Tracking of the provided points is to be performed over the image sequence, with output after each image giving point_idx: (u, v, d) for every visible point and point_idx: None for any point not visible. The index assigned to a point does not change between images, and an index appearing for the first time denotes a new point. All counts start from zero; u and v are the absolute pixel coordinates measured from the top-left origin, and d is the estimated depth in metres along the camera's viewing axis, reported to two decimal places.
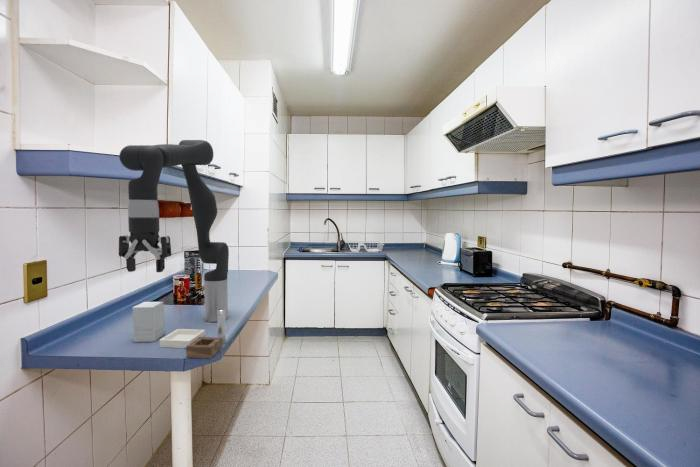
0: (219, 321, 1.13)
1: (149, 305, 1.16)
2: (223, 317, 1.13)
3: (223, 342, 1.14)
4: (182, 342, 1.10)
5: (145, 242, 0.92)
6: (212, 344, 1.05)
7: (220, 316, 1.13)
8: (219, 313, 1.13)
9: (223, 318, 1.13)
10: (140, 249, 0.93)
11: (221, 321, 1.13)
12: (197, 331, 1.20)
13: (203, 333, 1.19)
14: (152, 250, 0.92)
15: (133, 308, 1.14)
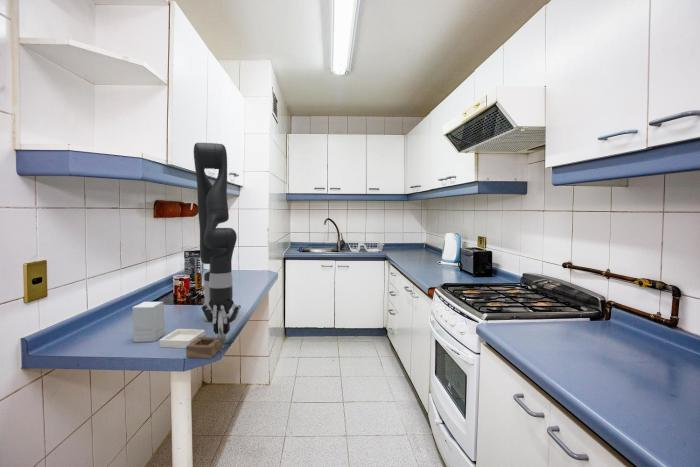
0: (219, 321, 1.13)
1: (149, 305, 1.16)
2: None
3: (223, 342, 1.14)
4: (182, 342, 1.10)
5: (222, 307, 1.12)
6: (212, 344, 1.05)
7: (220, 316, 1.13)
8: (219, 313, 1.13)
9: None
10: None
11: (221, 321, 1.13)
12: (197, 331, 1.20)
13: (203, 333, 1.19)
14: (224, 315, 1.12)
15: (133, 308, 1.14)
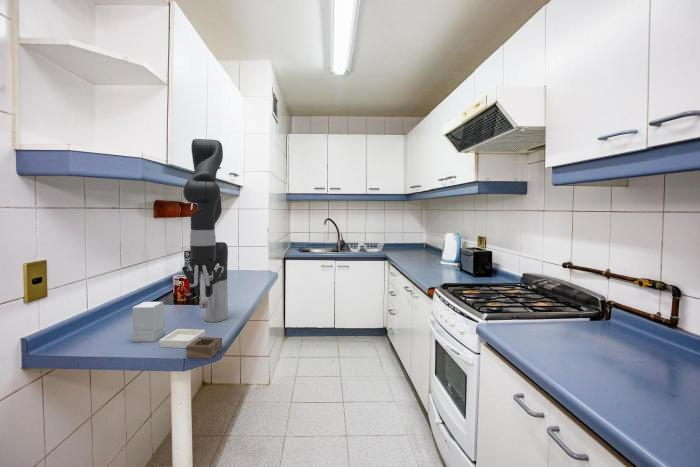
0: (201, 283, 1.04)
1: (149, 305, 1.16)
2: None
3: (205, 306, 1.05)
4: (182, 342, 1.10)
5: (204, 268, 1.03)
6: (212, 344, 1.05)
7: (202, 277, 1.04)
8: (201, 274, 1.04)
9: (205, 280, 1.04)
10: None
11: (203, 283, 1.04)
12: (197, 331, 1.20)
13: (203, 333, 1.19)
14: (206, 277, 1.03)
15: (133, 308, 1.14)
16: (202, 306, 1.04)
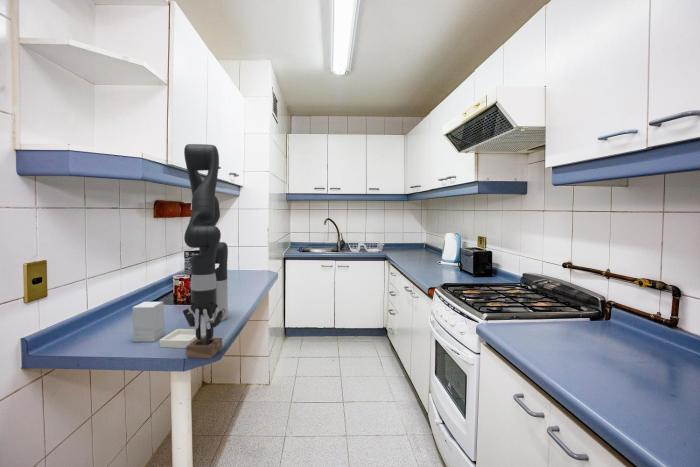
0: (202, 326, 1.05)
1: (149, 305, 1.16)
2: None
3: None
4: (182, 342, 1.10)
5: (205, 311, 1.04)
6: (212, 344, 1.05)
7: (203, 321, 1.05)
8: (201, 318, 1.05)
9: None
10: None
11: (204, 326, 1.05)
12: None
13: None
14: (207, 320, 1.04)
15: (133, 308, 1.14)
16: None
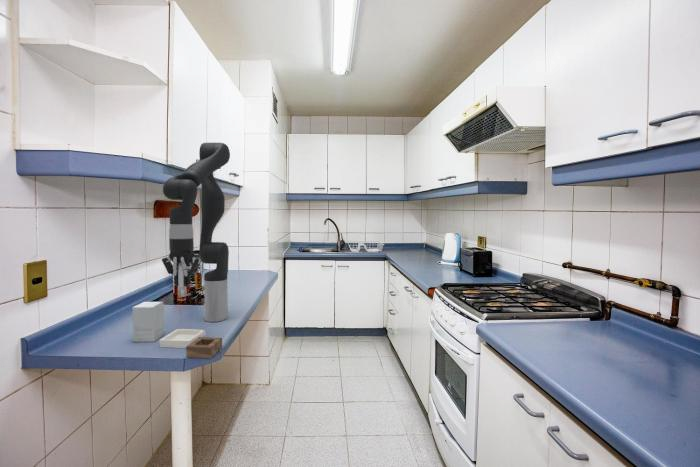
0: (179, 273, 1.12)
1: (149, 305, 1.16)
2: None
3: (183, 295, 1.13)
4: (182, 342, 1.10)
5: (182, 259, 1.11)
6: (212, 344, 1.05)
7: (180, 268, 1.12)
8: (179, 265, 1.12)
9: (183, 270, 1.13)
10: None
11: (181, 273, 1.12)
12: (197, 331, 1.20)
13: (203, 333, 1.19)
14: (184, 267, 1.12)
15: (133, 308, 1.14)
16: (180, 295, 1.13)
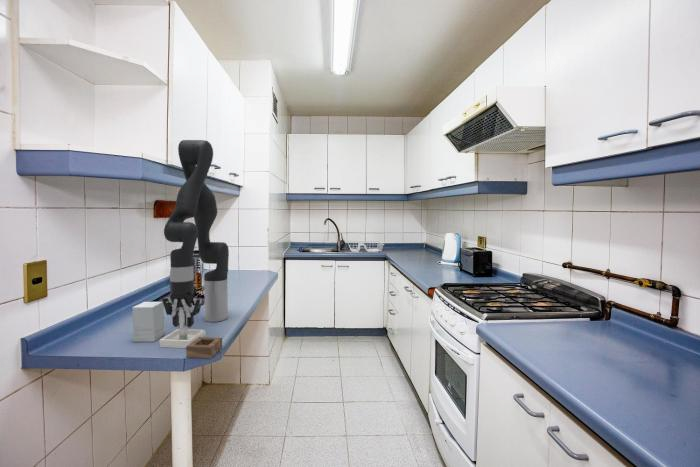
0: (180, 318, 1.13)
1: (149, 305, 1.16)
2: (184, 314, 1.14)
3: (184, 338, 1.14)
4: (182, 342, 1.10)
5: (183, 301, 1.12)
6: (212, 344, 1.05)
7: (181, 312, 1.13)
8: (180, 310, 1.13)
9: (184, 315, 1.14)
10: (179, 306, 1.13)
11: (182, 317, 1.13)
12: (197, 331, 1.20)
13: (203, 333, 1.19)
14: (186, 309, 1.13)
15: (133, 308, 1.14)
16: (181, 339, 1.14)
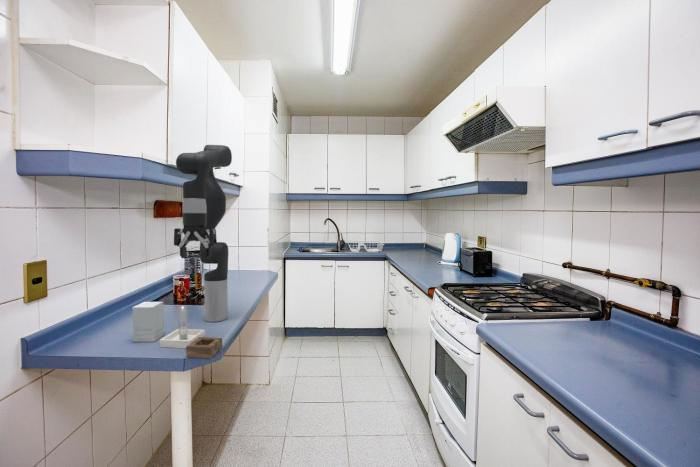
0: (180, 318, 1.13)
1: (149, 305, 1.16)
2: (184, 314, 1.14)
3: (184, 338, 1.14)
4: (182, 342, 1.10)
5: (196, 233, 1.11)
6: (212, 344, 1.05)
7: (181, 313, 1.13)
8: (180, 310, 1.13)
9: (184, 315, 1.14)
10: (191, 239, 1.12)
11: (182, 317, 1.13)
12: (197, 331, 1.20)
13: (203, 333, 1.19)
14: (202, 240, 1.11)
15: (133, 308, 1.14)
16: (181, 339, 1.14)
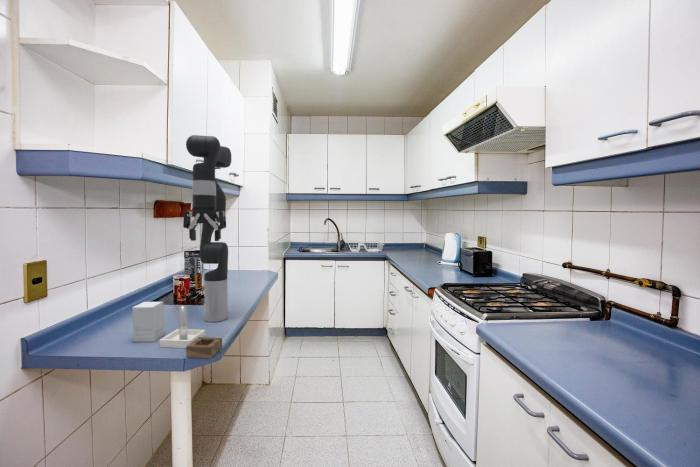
0: (180, 318, 1.13)
1: (149, 305, 1.16)
2: (184, 314, 1.14)
3: (184, 338, 1.14)
4: (182, 342, 1.10)
5: (206, 215, 1.11)
6: (212, 344, 1.05)
7: (181, 313, 1.13)
8: (180, 310, 1.13)
9: (184, 315, 1.14)
10: (201, 221, 1.12)
11: (182, 317, 1.13)
12: (197, 331, 1.20)
13: (203, 333, 1.19)
14: (212, 222, 1.11)
15: (133, 308, 1.14)
16: (181, 339, 1.14)
